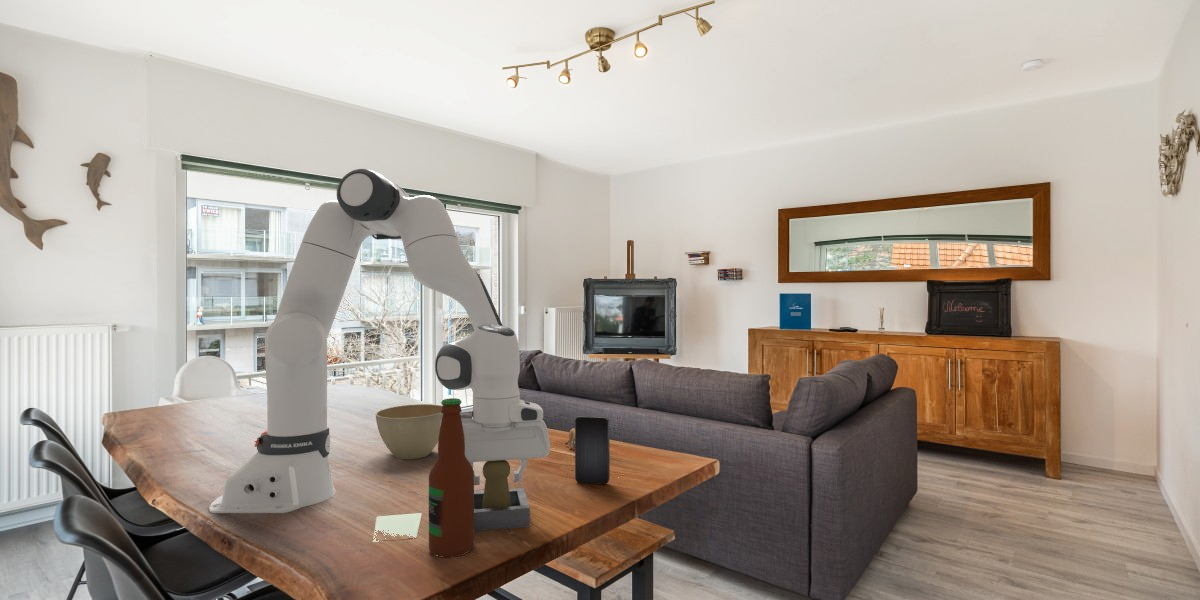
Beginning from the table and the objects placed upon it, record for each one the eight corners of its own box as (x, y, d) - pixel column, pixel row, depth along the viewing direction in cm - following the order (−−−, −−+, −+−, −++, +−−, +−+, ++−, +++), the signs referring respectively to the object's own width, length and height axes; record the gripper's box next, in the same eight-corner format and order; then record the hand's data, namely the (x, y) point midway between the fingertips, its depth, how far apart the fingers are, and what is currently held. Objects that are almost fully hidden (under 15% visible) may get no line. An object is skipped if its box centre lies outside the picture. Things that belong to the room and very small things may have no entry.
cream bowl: (386, 448, 159) (386, 405, 159) (452, 446, 161) (451, 403, 161) (367, 467, 141) (366, 418, 141) (441, 464, 143) (441, 416, 143)
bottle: (444, 538, 99) (444, 395, 99) (482, 543, 97) (481, 397, 97) (419, 556, 92) (419, 402, 92) (459, 562, 90) (459, 404, 90)
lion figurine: (599, 452, 154) (599, 425, 154) (587, 455, 151) (587, 428, 151) (570, 444, 163) (570, 419, 163) (558, 447, 160) (558, 421, 160)
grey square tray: (465, 532, 101) (465, 513, 101) (466, 509, 112) (466, 492, 112) (529, 527, 104) (529, 507, 104) (524, 505, 115) (523, 487, 115)
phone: (609, 483, 128) (609, 417, 128) (608, 485, 127) (608, 418, 127) (575, 481, 130) (575, 415, 130) (574, 482, 129) (574, 416, 129)
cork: (505, 525, 104) (505, 465, 104) (475, 523, 105) (475, 464, 105) (517, 513, 110) (517, 456, 110) (488, 511, 111) (487, 455, 111)
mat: (341, 547, 95) (341, 545, 95) (355, 520, 107) (355, 518, 107) (416, 540, 98) (416, 538, 98) (422, 514, 110) (422, 512, 110)
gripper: (439, 416, 102) (439, 492, 102) (551, 411, 107) (551, 484, 107) (440, 409, 109) (441, 481, 109) (546, 405, 113) (547, 474, 113)
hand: (496, 482), depth 108 cm, fingers open, 6 cm apart
